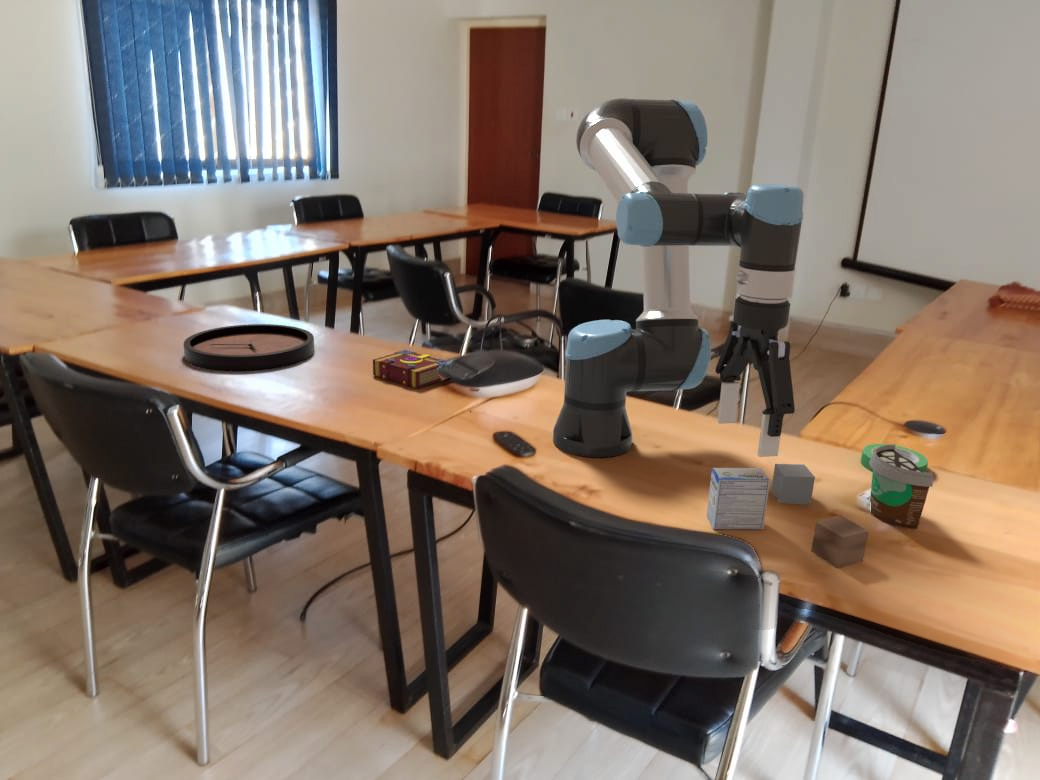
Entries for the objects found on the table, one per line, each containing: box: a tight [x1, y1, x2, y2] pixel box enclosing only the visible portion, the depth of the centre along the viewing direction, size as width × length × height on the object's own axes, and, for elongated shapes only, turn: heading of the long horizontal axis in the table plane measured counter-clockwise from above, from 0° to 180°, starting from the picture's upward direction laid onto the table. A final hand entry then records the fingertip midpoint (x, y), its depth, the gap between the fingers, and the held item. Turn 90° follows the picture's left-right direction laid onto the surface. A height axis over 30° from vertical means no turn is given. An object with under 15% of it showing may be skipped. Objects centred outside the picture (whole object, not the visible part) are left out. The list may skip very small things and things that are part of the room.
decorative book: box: [372, 349, 449, 389], centre depth 190 cm, size 11×16×5 cm
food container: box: [869, 443, 934, 530], centre depth 128 cm, size 12×6×10 cm, turn 4°
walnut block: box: [811, 515, 869, 569], centre depth 116 cm, size 5×5×5 cm
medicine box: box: [706, 467, 771, 530], centre depth 124 cm, size 8×4×9 cm, turn 92°
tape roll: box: [860, 443, 929, 473], centre depth 148 cm, size 11×11×3 cm
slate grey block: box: [771, 463, 816, 505], centre depth 134 cm, size 5×5×5 cm
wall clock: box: [183, 323, 316, 373], centre depth 205 cm, size 31×4×31 cm
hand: (745, 438), depth 120 cm, fingers open, 13 cm apart
